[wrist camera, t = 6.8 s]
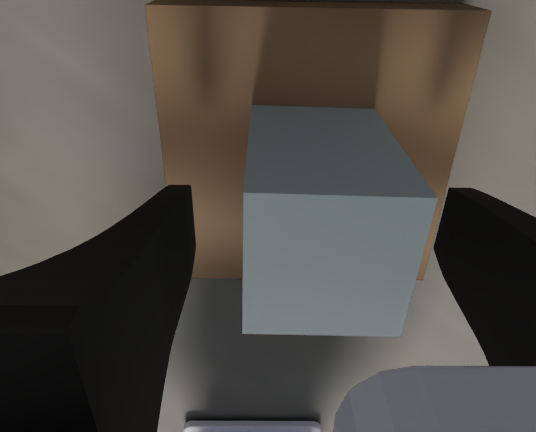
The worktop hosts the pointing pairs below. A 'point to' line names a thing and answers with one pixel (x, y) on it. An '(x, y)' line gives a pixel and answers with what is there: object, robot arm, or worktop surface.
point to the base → (302, 91)
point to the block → (329, 223)
